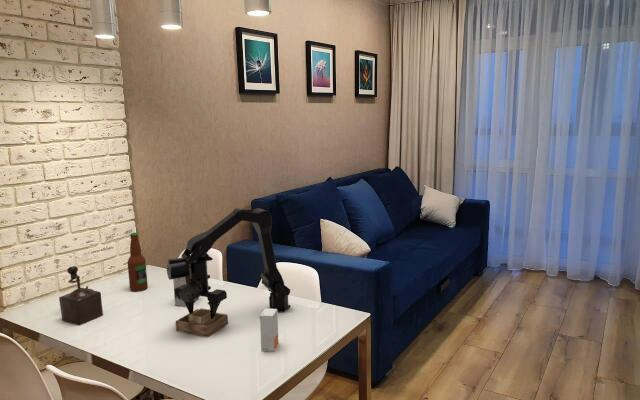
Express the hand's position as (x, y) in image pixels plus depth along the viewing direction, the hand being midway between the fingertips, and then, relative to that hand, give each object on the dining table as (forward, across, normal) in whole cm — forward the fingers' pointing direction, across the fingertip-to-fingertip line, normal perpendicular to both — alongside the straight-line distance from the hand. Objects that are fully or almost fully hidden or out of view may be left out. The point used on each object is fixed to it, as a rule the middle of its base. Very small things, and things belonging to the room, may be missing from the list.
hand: (201, 316), depth 170 cm
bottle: (+4, -51, +21) cm, 55 cm away
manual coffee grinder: (+4, -50, -10) cm, 51 cm away
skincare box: (+4, +30, -4) cm, 31 cm away
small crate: (+3, 0, 0) cm, 3 cm away
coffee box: (+4, -21, +17) cm, 27 cm away
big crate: (+4, 0, 0) cm, 4 cm away
